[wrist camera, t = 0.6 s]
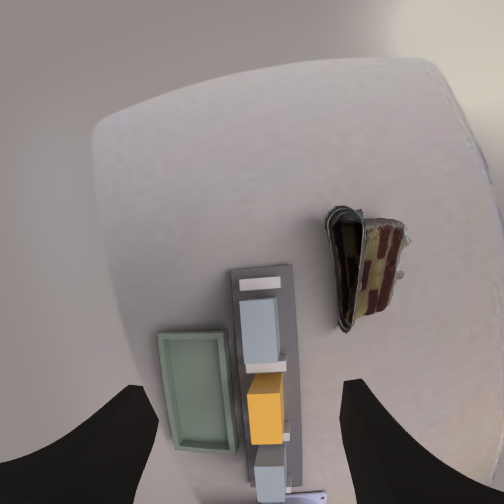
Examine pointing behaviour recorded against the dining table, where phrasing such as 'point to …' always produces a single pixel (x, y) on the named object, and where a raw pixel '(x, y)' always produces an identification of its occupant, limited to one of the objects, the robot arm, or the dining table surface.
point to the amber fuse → (266, 408)
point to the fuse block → (282, 286)
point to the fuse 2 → (271, 472)
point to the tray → (199, 390)
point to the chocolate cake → (364, 261)
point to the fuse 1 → (260, 330)
